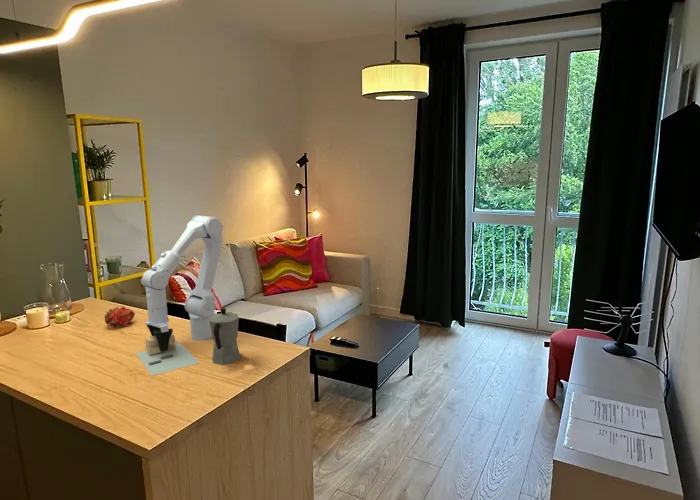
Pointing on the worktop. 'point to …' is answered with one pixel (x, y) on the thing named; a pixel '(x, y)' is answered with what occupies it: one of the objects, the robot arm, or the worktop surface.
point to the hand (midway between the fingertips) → (160, 346)
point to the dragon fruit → (119, 317)
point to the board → (168, 360)
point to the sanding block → (154, 347)
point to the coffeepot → (225, 337)
